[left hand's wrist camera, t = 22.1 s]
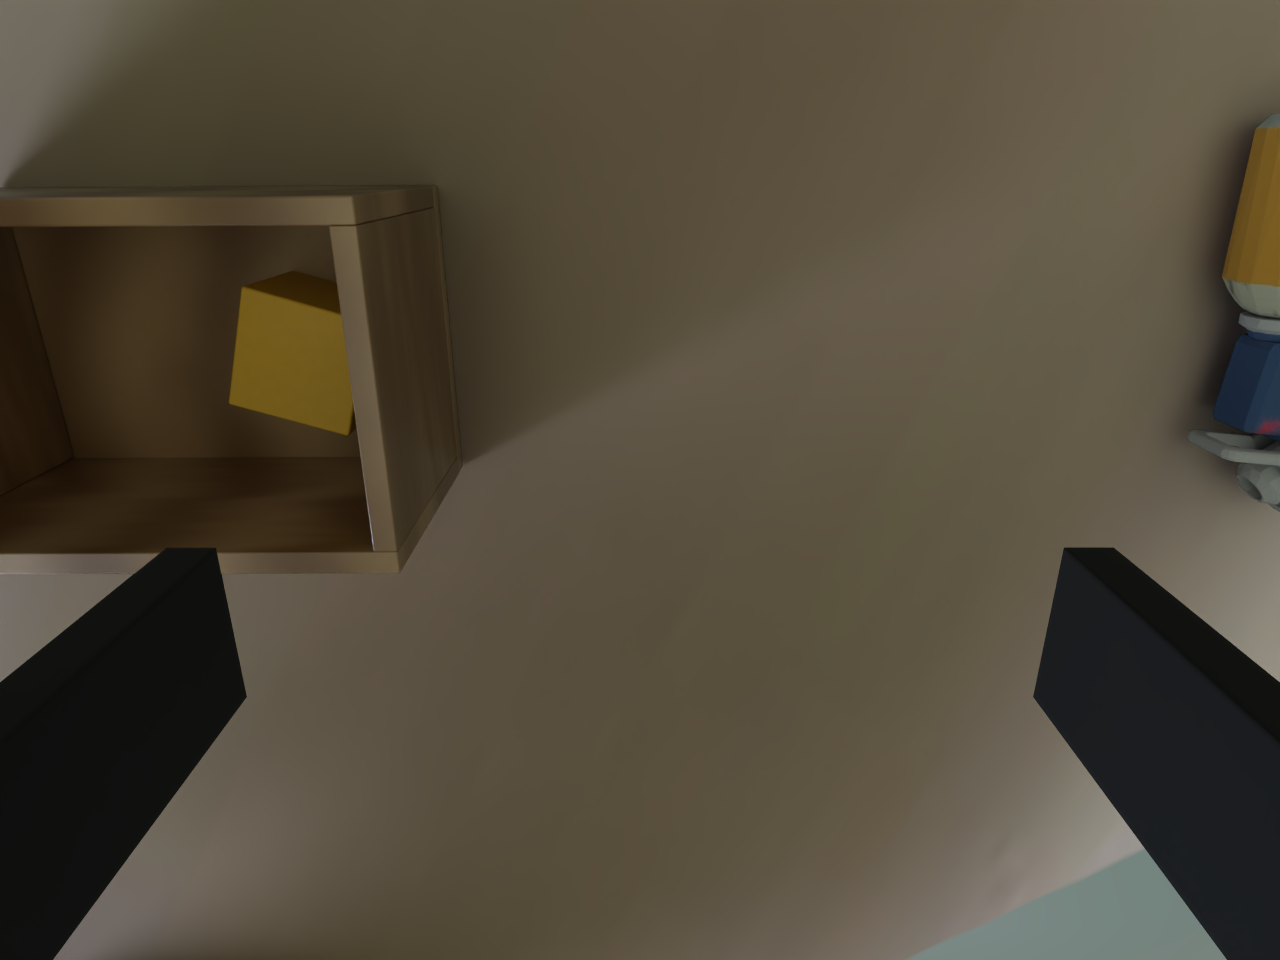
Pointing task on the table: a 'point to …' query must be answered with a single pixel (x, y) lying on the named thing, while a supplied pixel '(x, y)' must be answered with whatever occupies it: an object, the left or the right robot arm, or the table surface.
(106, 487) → the chest
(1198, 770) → the left robot arm
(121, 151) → the table surface
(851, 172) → the table surface
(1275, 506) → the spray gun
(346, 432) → the block
